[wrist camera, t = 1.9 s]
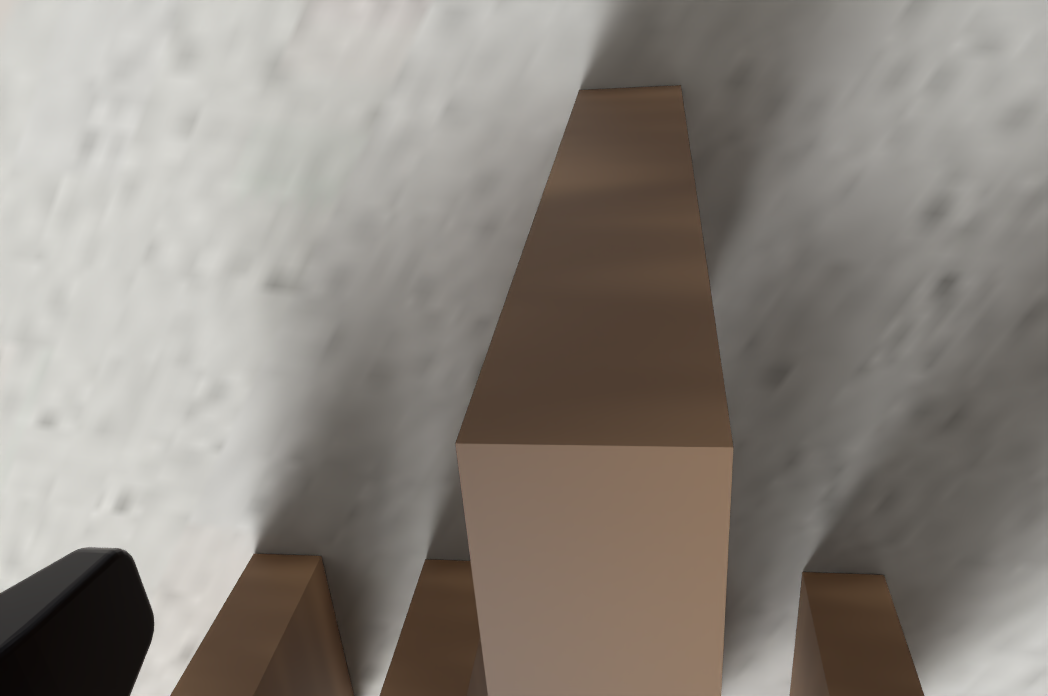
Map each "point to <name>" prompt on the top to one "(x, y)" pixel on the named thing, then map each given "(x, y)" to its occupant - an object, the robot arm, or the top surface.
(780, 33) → the top surface
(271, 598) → the tile
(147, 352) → the top surface
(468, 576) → the tile
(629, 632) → the tile
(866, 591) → the tile
